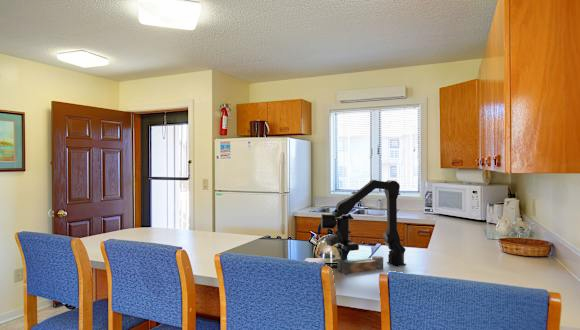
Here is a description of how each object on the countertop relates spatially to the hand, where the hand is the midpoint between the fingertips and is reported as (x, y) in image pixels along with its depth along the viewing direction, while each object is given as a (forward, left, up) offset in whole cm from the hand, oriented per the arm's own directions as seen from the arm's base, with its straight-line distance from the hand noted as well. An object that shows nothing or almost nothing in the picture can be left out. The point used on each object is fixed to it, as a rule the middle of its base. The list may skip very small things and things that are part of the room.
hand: (342, 261), depth 178 cm
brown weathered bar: (-1, +8, -1) cm, 9 cm away
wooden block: (-4, +11, -2) cm, 12 cm away
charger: (+18, +6, -2) cm, 19 cm away
